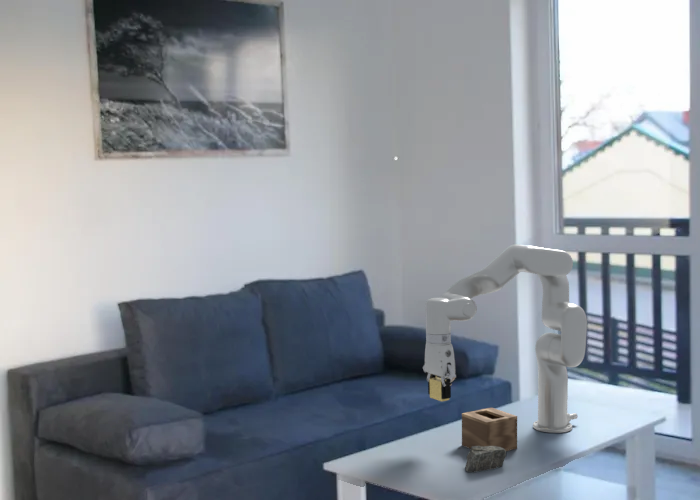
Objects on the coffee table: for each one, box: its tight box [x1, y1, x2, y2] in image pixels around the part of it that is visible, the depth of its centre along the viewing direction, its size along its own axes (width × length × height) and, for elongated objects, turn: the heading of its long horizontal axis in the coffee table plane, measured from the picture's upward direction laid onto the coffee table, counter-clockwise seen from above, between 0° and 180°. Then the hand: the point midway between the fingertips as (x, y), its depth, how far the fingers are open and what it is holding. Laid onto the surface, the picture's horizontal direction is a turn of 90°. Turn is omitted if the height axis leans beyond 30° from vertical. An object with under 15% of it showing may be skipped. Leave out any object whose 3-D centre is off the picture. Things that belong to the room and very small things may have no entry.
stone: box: [465, 446, 507, 473], centre depth 263 cm, size 14×7×10 cm, turn 127°
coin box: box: [461, 407, 518, 452], centre depth 281 cm, size 12×12×10 cm
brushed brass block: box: [429, 376, 450, 402], centre depth 280 cm, size 3×6×6 cm, turn 31°
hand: (439, 395), depth 280 cm, fingers closed on brushed brass block, 5 cm apart
